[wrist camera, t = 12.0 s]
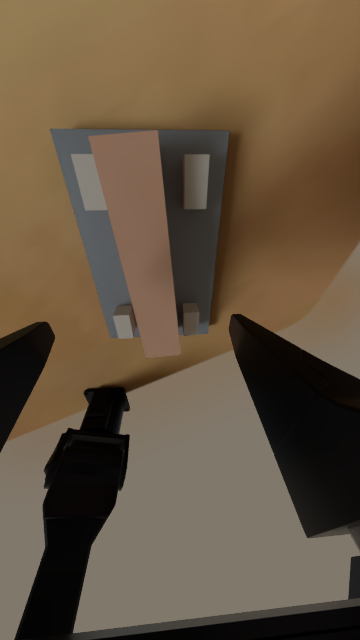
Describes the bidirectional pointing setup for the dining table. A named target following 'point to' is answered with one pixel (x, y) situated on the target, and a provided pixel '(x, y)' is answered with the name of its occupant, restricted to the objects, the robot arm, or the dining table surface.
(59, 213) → the dining table surface
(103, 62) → the dining table surface
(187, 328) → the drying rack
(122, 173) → the clay strip
